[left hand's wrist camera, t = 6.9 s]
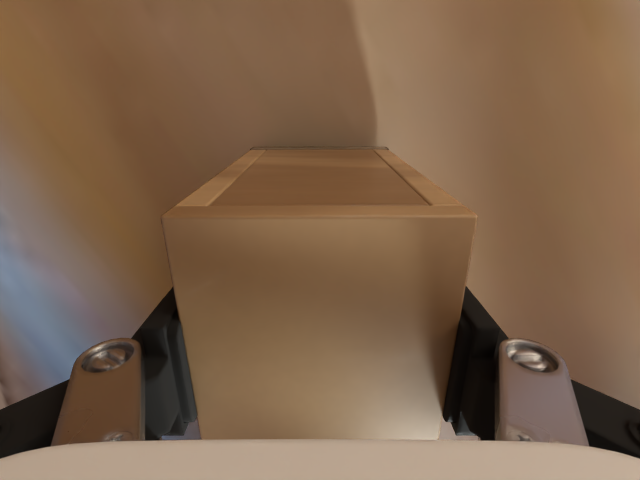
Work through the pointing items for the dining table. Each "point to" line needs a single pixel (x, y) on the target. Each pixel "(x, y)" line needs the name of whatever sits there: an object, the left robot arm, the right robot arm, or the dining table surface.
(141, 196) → the dining table surface
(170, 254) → the wooden crate box
